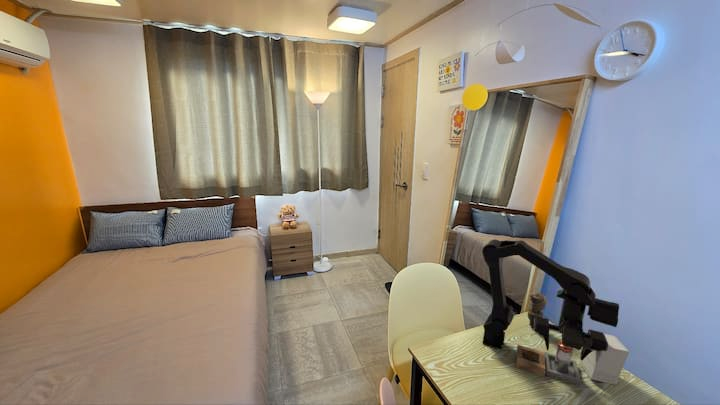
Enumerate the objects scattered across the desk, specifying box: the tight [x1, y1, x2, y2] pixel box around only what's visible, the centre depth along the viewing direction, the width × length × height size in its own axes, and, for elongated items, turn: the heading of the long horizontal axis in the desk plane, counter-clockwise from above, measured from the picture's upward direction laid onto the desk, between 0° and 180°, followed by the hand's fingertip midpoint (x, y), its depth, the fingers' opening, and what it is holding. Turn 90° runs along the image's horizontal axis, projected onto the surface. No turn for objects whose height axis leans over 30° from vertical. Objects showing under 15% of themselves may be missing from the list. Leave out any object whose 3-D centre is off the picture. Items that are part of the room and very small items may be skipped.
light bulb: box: [527, 292, 548, 329], centre depth 114 cm, size 6×6×15 cm
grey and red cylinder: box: [554, 340, 574, 374], centre depth 95 cm, size 4×4×9 cm
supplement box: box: [578, 333, 630, 385], centre depth 92 cm, size 7×7×13 cm
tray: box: [543, 351, 581, 387], centre depth 96 cm, size 9×9×2 cm
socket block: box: [515, 344, 546, 377], centre depth 98 cm, size 8×8×3 cm
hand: (563, 354), depth 94 cm, fingers open, 9 cm apart
